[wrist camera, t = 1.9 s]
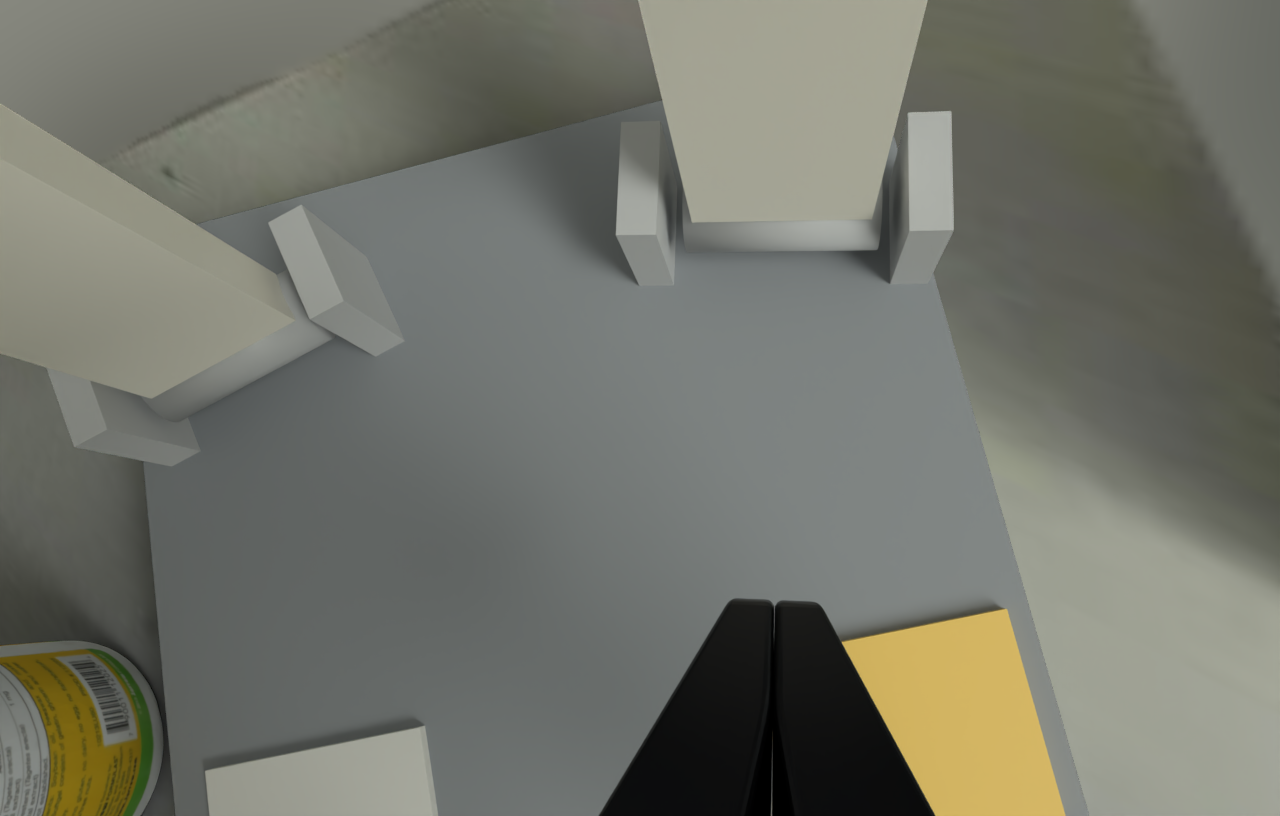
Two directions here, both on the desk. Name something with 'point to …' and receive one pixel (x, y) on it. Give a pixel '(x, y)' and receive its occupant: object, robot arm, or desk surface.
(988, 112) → the desk surface
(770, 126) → the switch
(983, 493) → the grey base plate
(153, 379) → the switch
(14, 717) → the supplement bottle
